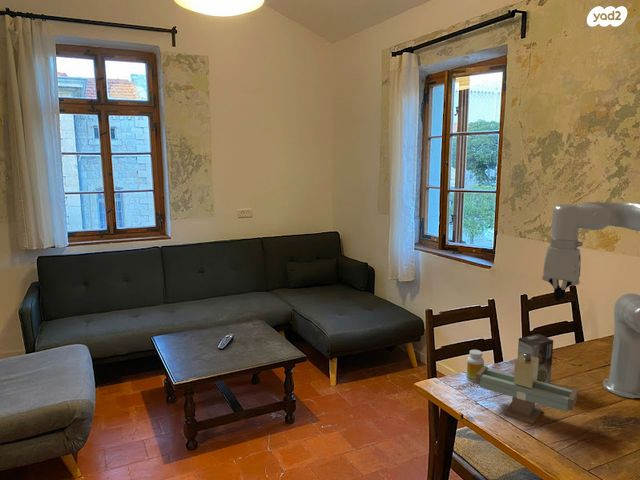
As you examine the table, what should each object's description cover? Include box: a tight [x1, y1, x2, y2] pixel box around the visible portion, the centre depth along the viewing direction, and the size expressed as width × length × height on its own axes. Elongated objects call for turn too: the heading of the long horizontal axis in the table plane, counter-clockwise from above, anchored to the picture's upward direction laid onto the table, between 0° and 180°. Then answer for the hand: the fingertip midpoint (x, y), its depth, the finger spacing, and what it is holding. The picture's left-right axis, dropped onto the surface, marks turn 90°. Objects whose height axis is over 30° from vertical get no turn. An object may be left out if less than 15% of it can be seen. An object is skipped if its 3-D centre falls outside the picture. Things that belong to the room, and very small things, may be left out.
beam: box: [475, 365, 579, 425], centre depth 142 cm, size 26×9×10 cm, turn 53°
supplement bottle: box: [466, 349, 485, 383], centre depth 163 cm, size 5×5×10 cm
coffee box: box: [517, 333, 554, 384], centre depth 158 cm, size 9×6×16 cm
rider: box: [513, 353, 539, 388], centre depth 140 cm, size 5×6×10 cm
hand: (558, 300), depth 154 cm, fingers closed
